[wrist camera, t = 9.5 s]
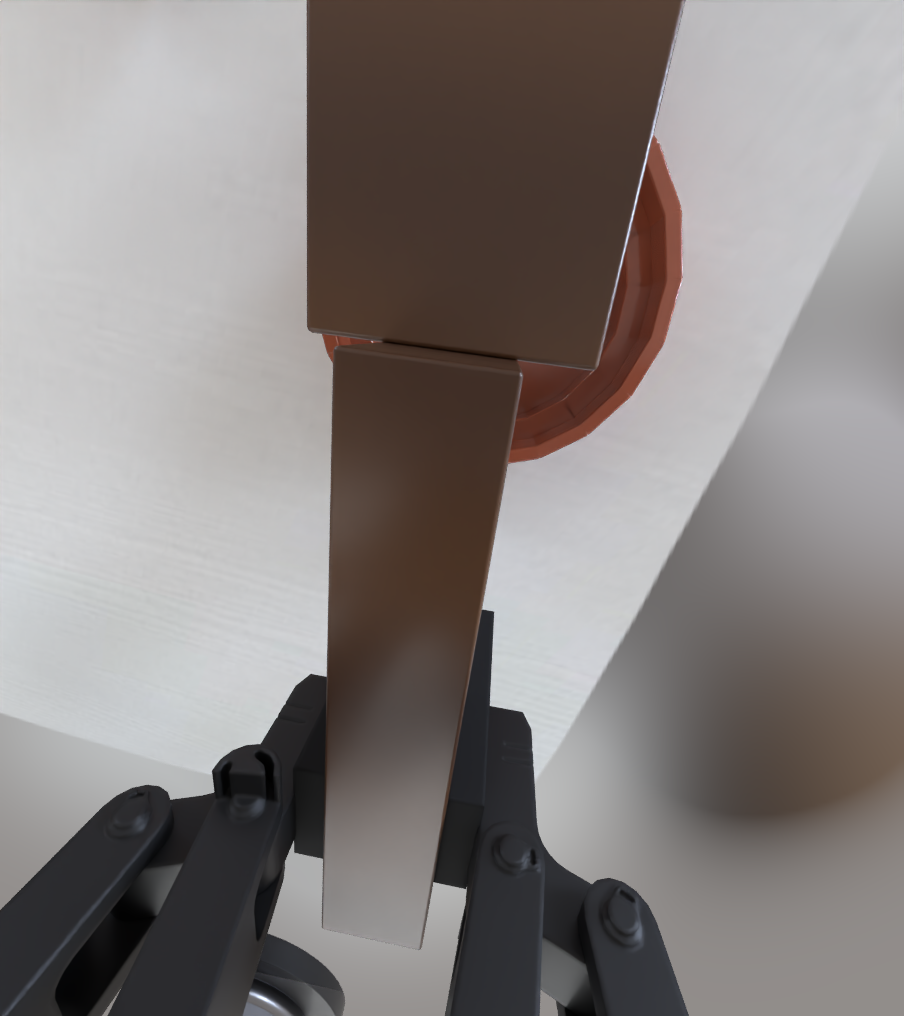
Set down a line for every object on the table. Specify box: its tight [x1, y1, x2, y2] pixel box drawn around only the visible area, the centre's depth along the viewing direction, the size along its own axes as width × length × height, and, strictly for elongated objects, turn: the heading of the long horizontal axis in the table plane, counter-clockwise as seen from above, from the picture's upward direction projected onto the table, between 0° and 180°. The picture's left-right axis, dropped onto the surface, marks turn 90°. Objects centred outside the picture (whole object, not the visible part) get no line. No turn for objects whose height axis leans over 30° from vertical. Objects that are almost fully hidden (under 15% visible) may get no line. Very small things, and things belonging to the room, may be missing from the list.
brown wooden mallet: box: [307, 0, 685, 950], centre depth 13 cm, size 18×5×12 cm, turn 173°
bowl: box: [322, 135, 683, 464], centre depth 19 cm, size 14×14×4 cm
